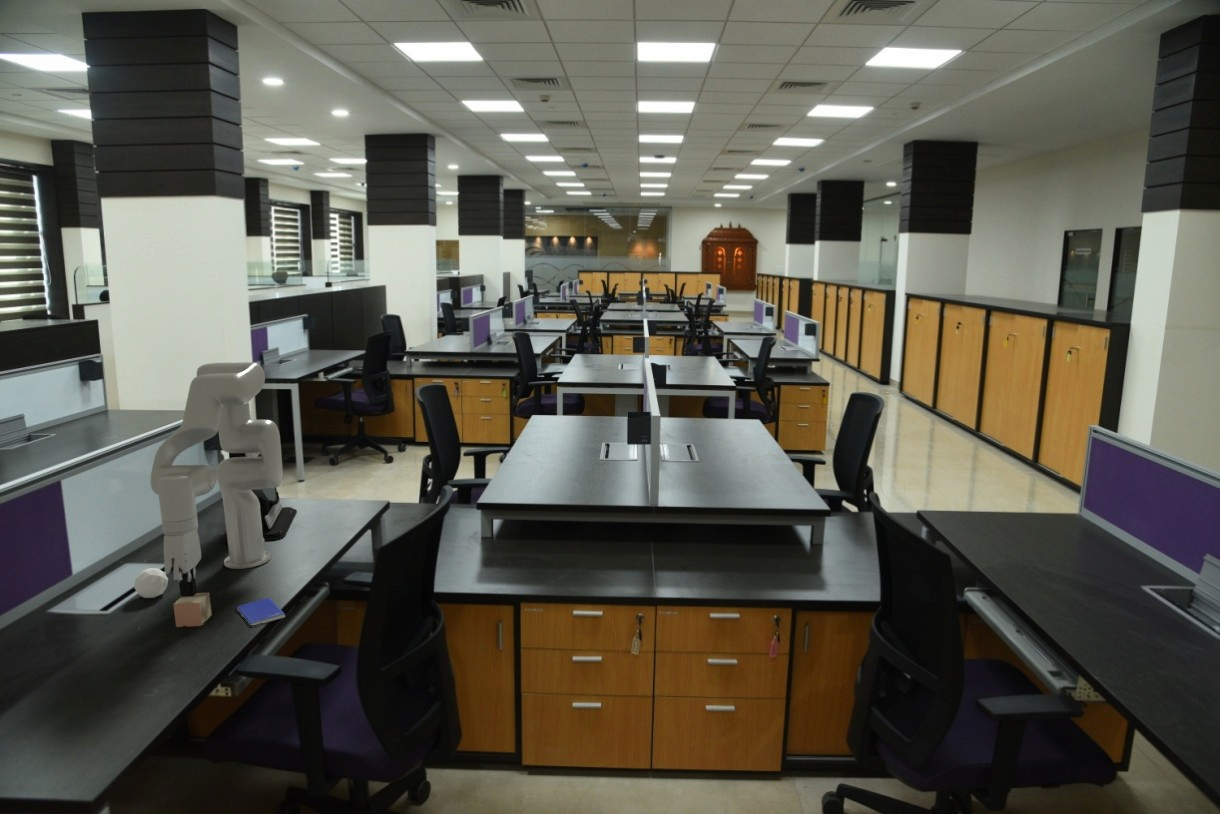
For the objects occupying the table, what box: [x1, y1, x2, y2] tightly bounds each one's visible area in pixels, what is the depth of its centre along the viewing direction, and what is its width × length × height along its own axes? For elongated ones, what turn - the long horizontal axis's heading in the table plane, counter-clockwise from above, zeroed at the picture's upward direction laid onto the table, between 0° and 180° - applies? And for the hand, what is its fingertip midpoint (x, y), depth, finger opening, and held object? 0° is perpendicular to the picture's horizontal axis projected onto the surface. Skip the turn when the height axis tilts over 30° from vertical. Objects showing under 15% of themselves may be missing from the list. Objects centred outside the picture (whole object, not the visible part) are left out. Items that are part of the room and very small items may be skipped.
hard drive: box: [236, 597, 286, 626], centre depth 198 cm, size 2×8×12 cm
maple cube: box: [173, 592, 213, 628], centre depth 194 cm, size 6×6×6 cm
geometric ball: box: [133, 567, 169, 599], centre depth 208 cm, size 8×8×8 cm
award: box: [221, 453, 298, 545], centre depth 259 cm, size 30×19×30 cm, turn 13°
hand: (188, 595), depth 192 cm, fingers closed
